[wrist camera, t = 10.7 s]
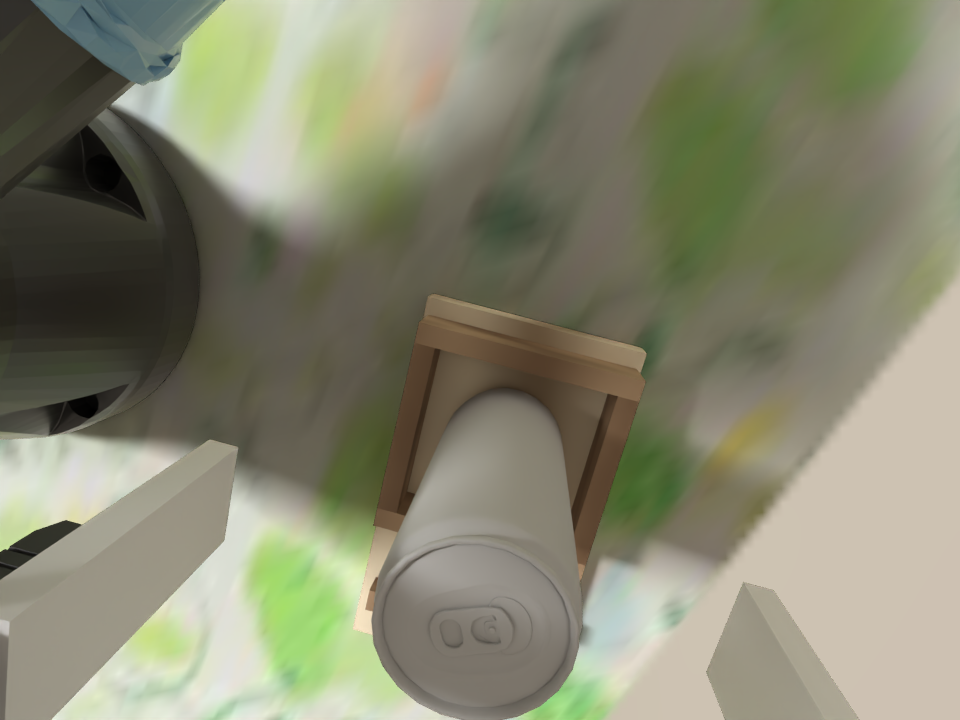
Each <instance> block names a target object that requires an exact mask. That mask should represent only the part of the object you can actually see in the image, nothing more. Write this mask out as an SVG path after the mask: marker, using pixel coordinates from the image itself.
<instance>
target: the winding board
mask: <svg viewBox="0 0 960 720" xmlns="http://www.w3.org/2000/svg"><path fill="white" fill-rule="evenodd" d="M646 355H647V353H646V352H645V351H644V350H643V349H642V348H640V347H637V346H633V345H629V344H625V343H621V342H617V341H613V340H610V339H606V338H602V337H598V336H594V335H590V334H587V333H583V332H579V331H575V330H571V329H567V328H564V327H560V326H556V325H552V324H548V323H544V322H540V321H537V320H533V319H529V318H525V317H521V316H517V315H514V314H510V313H506V312H502V311H498V310H494V309H491V308H487V307H483V306H479V305H475V304H471V303H467V302H464V301H460V300H456V299H452V298H448V297H444V296H441V295H437V294H431V295H430V296H428V298H427V302H426V307H425V311H424V316H423V319H422V320H421V321H420V322H419V324H418V329H417V333H416V337H415V342H414V346H413V351H412V355H411V360H410V364H409V369H408V373H407V378H406V382H405V386H404V391H403V395H402V400H401V404H400V409H399V413H398V418H397V422H396V427H395V431H394V435H393V440H392V444H391V449H390V453H389V458H388V462H387V467H386V471H385V476H384V480H383V484H382V489H381V493H380V498H379V502H378V507H377V511H376V516H375V520H374V525H373V526H376V528H375V533H374V537H373V541H372V546H371V550H370V555H369V559H368V564H367V568H366V572H365V577H364V581H363V586H362V590H361V595H360V599H359V603H358V608H357V612H356V617H355V621H354V626H353V629H354V630H357V631H361V632H365V633H368V634H372V635H373V633H372V623H371V618H372V613H373V608H374V597H375V592H376V586H377V581H378V576H379V573H380V570H381V568H382V566H383V564H384V562H385V560H386V557H387V555H388V553H389V551H390V549H391V546H392V544H393V542H394V540H395V538H396V535H397V533H398V531H399V529H400V527H401V524H402V522H403V520H404V518H405V516H406V514H407V511H408V509H409V507H410V505H411V503H412V501H413V498H414V496H415V494H416V492H417V490H418V488H419V485H420V483H421V481H422V479H423V477H424V474H425V472H426V470H427V468H428V466H429V464H430V461H431V459H432V457H433V455H434V453H435V450H436V448H437V446H438V444H439V442H440V439H441V437H442V435H443V433H444V431H445V428H446V426H447V424H448V422H449V421H450V419H451V417H452V416H453V414H454V412H455V411H456V410H457V409H458V408H459V407H460V406H461V405H462V404H464V403H465V402H466V401H468V400H469V399H471V398H472V397H474V396H475V395H477V394H479V393H481V392H484V391H487V390H490V389H495V388H510V389H515V390H519V391H523V392H525V393H527V394H529V395H531V396H533V397H535V398H537V399H538V400H539V401H540V402H541V403H543V404H544V405H545V406H546V407H547V408H548V409H549V410H550V412H551V413H552V415H553V417H554V418H555V420H556V421H557V424H558V427H559V430H560V433H561V437H562V444H563V452H564V460H565V468H566V476H567V484H568V492H569V499H570V507H571V515H572V523H573V531H574V539H575V547H576V554H577V562H578V570H579V578H580V581H581V578H582V575H583V572H584V569H585V566H586V563H587V559H588V556H589V553H590V550H591V547H592V544H593V541H594V538H595V535H596V532H597V529H598V526H599V523H600V520H601V517H602V514H603V511H604V508H605V505H606V502H607V499H608V495H609V492H610V489H611V486H612V483H613V480H614V477H615V474H616V471H617V468H618V465H619V462H620V459H621V456H622V453H623V450H624V447H625V444H626V441H627V438H628V435H629V431H630V428H631V425H632V422H633V419H634V416H635V413H636V410H637V407H638V404H639V401H640V398H641V395H642V392H643V389H644V386H645V383H646V381H645V380H644V378H643V377H642V376H641V374H640V373H641V370H642V367H643V364H644V361H645V358H646Z"/></svg>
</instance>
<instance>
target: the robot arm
mask: <svg viewBox="0 0 960 720" xmlns="http://www.w3.org/2000/svg"><path fill="white" fill-rule="evenodd" d="M224 1H225V0H0V440H4V439H24V438H41V437H49V436H55V435H60V434H64V433H69V432H73V431H76V430H79V429H82V428H85V427H88V426H90V425H92V424H95V423H97V422H99V421H102V420H104V419H107V418H109V417H111V416H114V415H116V414H118V413H121V412H123V411H125V410H127V409H129V408H131V407H133V406H134V405H136V404H137V403H139V402H141V401H142V400H143V399H145V398H146V397H147V396H149V395H150V394H151V393H152V392H153V391H154V390H155V389H157V388H158V387H159V386H160V385H161V383H162V382H163V381H164V380H165V379H166V378H167V377H168V375H169V374H170V373H171V371H172V370H173V369H174V367H175V366H176V364H177V362H178V361H179V359H180V357H181V355H182V353H183V352H184V350H185V347H186V345H187V343H188V340H189V338H190V335H191V332H192V329H193V325H194V321H195V317H196V311H197V306H198V296H199V264H198V256H197V249H196V244H195V238H194V234H193V231H192V227H191V223H190V220H189V217H188V214H187V211H186V209H185V206H184V204H183V202H182V199H181V197H180V195H179V193H178V191H177V189H176V187H175V185H174V183H173V181H172V179H171V178H170V176H169V174H168V172H167V171H166V169H165V168H164V166H163V165H162V163H161V162H160V160H159V159H158V158H157V156H156V155H155V154H154V152H153V151H152V150H151V149H150V147H149V146H148V145H147V144H146V143H145V142H144V140H143V139H142V138H141V137H140V136H139V135H138V134H137V133H136V132H135V131H134V130H133V129H132V128H131V127H130V126H129V125H128V124H126V123H125V122H124V121H123V120H122V119H121V118H120V117H118V116H117V115H116V114H114V113H113V112H112V111H110V110H109V109H108V108H107V107H109V106H110V105H111V104H112V103H113V102H114V101H116V100H117V99H118V98H119V97H120V96H121V95H123V94H124V93H125V92H126V91H127V90H128V89H130V88H131V87H132V86H133V85H134V84H135V83H138V84H140V85H143V86H144V85H145V84H147V83H149V82H153V81H159V80H160V79H162V78H164V77H166V76H167V75H169V74H170V73H171V72H172V71H173V70H174V69H175V67H176V66H177V64H178V62H179V61H180V57H181V51H182V44H183V42H184V41H185V40H186V39H187V38H188V37H189V36H190V35H191V34H192V33H193V32H194V31H195V30H196V29H197V28H198V27H199V26H200V25H201V24H202V23H203V22H204V21H205V20H206V19H207V18H208V17H209V16H210V15H211V14H212V13H213V12H214V11H215V10H216V9H217V8H218V7H219V6H220V5H221V4H222V3H223V2H224ZM237 453H238V447H236V446H233V445H229V444H225V443H222V442H218V441H214V440H210V439H209V440H208V441H206V442H205V443H203V444H202V445H201V446H199V447H198V448H196V449H195V450H193V451H192V452H190V453H189V454H187V455H186V456H184V457H183V458H181V459H180V460H178V461H177V462H175V463H174V464H172V465H171V466H169V467H168V468H166V469H165V470H163V471H162V472H160V473H159V474H157V475H156V476H154V477H153V478H151V479H150V480H148V481H147V482H145V483H144V484H142V485H141V486H139V487H138V488H136V489H135V490H133V491H132V492H131V493H129V494H128V495H126V496H125V497H123V498H122V499H120V500H119V501H117V502H116V503H114V504H113V505H111V506H110V507H108V508H107V509H105V510H104V511H102V512H101V513H99V514H98V515H96V516H95V517H93V518H92V519H90V520H89V521H87V522H86V523H84V524H83V525H81V524H78V523H74V522H70V521H67V520H65V521H62V522H59V523H56V524H53V525H50V526H48V527H45V528H42V529H39V530H36V531H34V532H32V533H31V534H29V535H27V536H26V537H24V538H22V539H21V540H19V541H18V542H16V543H14V544H13V545H11V546H10V548H9V549H8V550H6V549H5V550H3V551H1V552H0V720H51V719H52V718H53V717H54V716H55V715H56V714H57V713H58V712H59V711H60V710H61V709H62V708H63V707H64V706H65V705H66V704H67V703H68V702H69V701H70V700H71V699H72V698H73V696H74V695H75V694H76V693H77V692H78V691H79V690H80V689H81V688H82V687H83V686H84V685H85V684H86V683H87V682H88V681H89V680H90V679H91V678H92V677H93V676H94V675H95V674H96V673H97V672H98V671H99V670H100V669H101V668H102V667H103V665H104V664H105V663H106V662H107V661H108V660H109V659H110V658H111V657H112V656H113V655H114V654H115V653H116V652H117V651H118V650H119V649H120V648H121V647H122V646H123V645H124V644H125V643H126V642H127V641H128V640H129V639H130V638H131V637H132V636H133V634H134V633H135V632H136V631H137V630H138V629H139V628H140V627H141V626H142V625H143V624H144V623H145V622H146V621H147V620H148V619H149V618H150V617H151V616H152V615H153V614H154V613H155V612H156V611H157V610H158V609H159V608H160V607H161V606H162V604H163V603H164V602H165V601H166V600H167V599H168V598H169V597H170V596H171V595H172V594H173V593H174V592H175V591H176V590H177V589H178V588H179V587H180V586H181V585H182V584H183V583H184V582H185V581H186V580H187V579H188V578H189V577H190V576H191V575H192V573H193V572H194V571H195V570H196V569H197V568H198V567H199V566H200V565H201V564H202V563H203V562H204V561H205V560H206V559H207V558H208V557H209V556H210V555H211V554H212V553H213V552H214V551H215V550H216V549H217V548H218V547H219V546H220V545H221V544H222V542H223V541H224V539H225V533H226V526H227V520H228V513H229V506H230V500H231V493H232V486H233V480H234V473H235V467H236V460H237ZM706 672H707V675H708V677H709V680H710V683H711V685H712V687H713V690H714V693H715V695H716V698H717V700H718V703H719V705H720V708H721V711H722V713H723V716H724V718H725V720H859V719H858V717H857V716H856V714H855V713H854V711H853V709H852V708H851V706H850V705H849V704H848V702H847V701H846V699H845V697H844V696H843V694H842V693H841V691H840V690H839V689H838V687H837V686H836V684H835V682H834V681H833V679H832V678H831V676H830V675H829V673H828V672H827V670H826V669H825V667H824V666H823V664H822V663H821V661H820V660H819V658H818V657H817V655H816V654H815V652H814V651H813V649H812V648H811V646H810V645H809V643H808V642H807V640H806V638H805V637H804V635H803V634H802V633H801V631H800V629H799V628H798V626H797V625H796V624H795V622H794V620H793V619H792V617H791V616H790V614H789V613H788V611H787V610H786V608H785V607H784V605H783V604H782V602H781V601H780V599H779V598H778V596H777V595H776V593H775V592H774V590H771V589H767V588H763V587H759V586H756V585H752V584H748V583H744V582H743V585H742V587H741V589H740V592H739V594H738V596H737V599H736V601H735V604H734V606H733V609H732V611H731V613H730V616H729V618H728V621H727V623H726V626H725V628H724V630H723V633H722V635H721V638H720V640H719V642H718V645H717V647H716V650H715V652H714V655H713V657H712V659H711V662H710V664H709V667H708V669H707V671H706Z"/></svg>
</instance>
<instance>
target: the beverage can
mask: <svg viewBox="0 0 960 720" xmlns="http://www.w3.org/2000/svg"><path fill="white" fill-rule="evenodd" d="M371 623H372V633H373V642H374V646H375V648H376V651H377V653H378V656H379V658H380V661H381V663H382V665H383V667H384V669H385V670H386V671H387V673H388V674H389V675H390V677H391V678H392V679H393V681H394V682H395V683H396V685H397V686H398V687H399V688H400V689H402V690H403V691H404V692H405V693H406V694H408V695H409V696H410V697H411V698H412V699H414V700H415V701H416V702H417V703H419V704H421V705H423V706H425V707H427V708H429V709H431V710H433V711H435V712H437V713H439V714H441V715H445V716H449V717H453V718H457V719H461V720H503V719H509V718H514V717H518V716H520V715H522V714H524V713H527V712H529V711H531V710H533V709H535V708H537V707H539V706H541V705H542V704H543V703H544V702H546V701H547V700H548V699H549V698H550V697H552V696H553V695H554V694H555V693H556V692H558V691H559V689H560V688H561V686H562V685H563V683H564V682H565V680H566V679H567V677H568V676H569V674H570V673H571V671H572V669H573V666H574V663H575V659H576V656H577V652H578V649H579V636H580V633H581V630H582V626H583V625H582V594H581V586H580V578H579V570H578V562H577V554H576V547H575V539H574V531H573V523H572V515H571V507H570V499H569V492H568V484H567V476H566V468H565V460H564V452H563V444H562V437H561V433H560V430H559V427H558V424H557V421H556V420H555V418H554V417H553V415H552V413H551V412H550V410H549V409H548V408H547V407H546V406H545V405H544V404H543V403H541V402H540V401H539V400H538V399H537V398H535V397H533V396H531V395H529V394H527V393H525V392H523V391H519V390H515V389H510V388H495V389H490V390H487V391H484V392H481V393H479V394H477V395H475V396H474V397H472V398H471V399H469V400H468V401H466V402H465V403H464V404H462V405H461V406H460V407H459V408H458V409H457V410H456V411H455V412H454V414H453V416H452V417H451V419H450V421H449V422H448V424H447V426H446V428H445V431H444V433H443V435H442V437H441V439H440V442H439V444H438V446H437V448H436V450H435V453H434V455H433V457H432V459H431V461H430V464H429V466H428V468H427V470H426V472H425V474H424V477H423V479H422V481H421V483H420V485H419V488H418V490H417V492H416V494H415V496H414V498H413V501H412V503H411V505H410V507H409V509H408V511H407V514H406V516H405V518H404V520H403V522H402V524H401V527H400V529H399V531H398V533H397V535H396V538H395V540H394V542H393V544H392V546H391V549H390V551H389V553H388V555H387V557H386V560H385V562H384V564H383V566H382V568H381V570H380V573H379V576H378V581H377V586H376V592H375V597H374V608H373V613H372V618H371Z"/></svg>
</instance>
